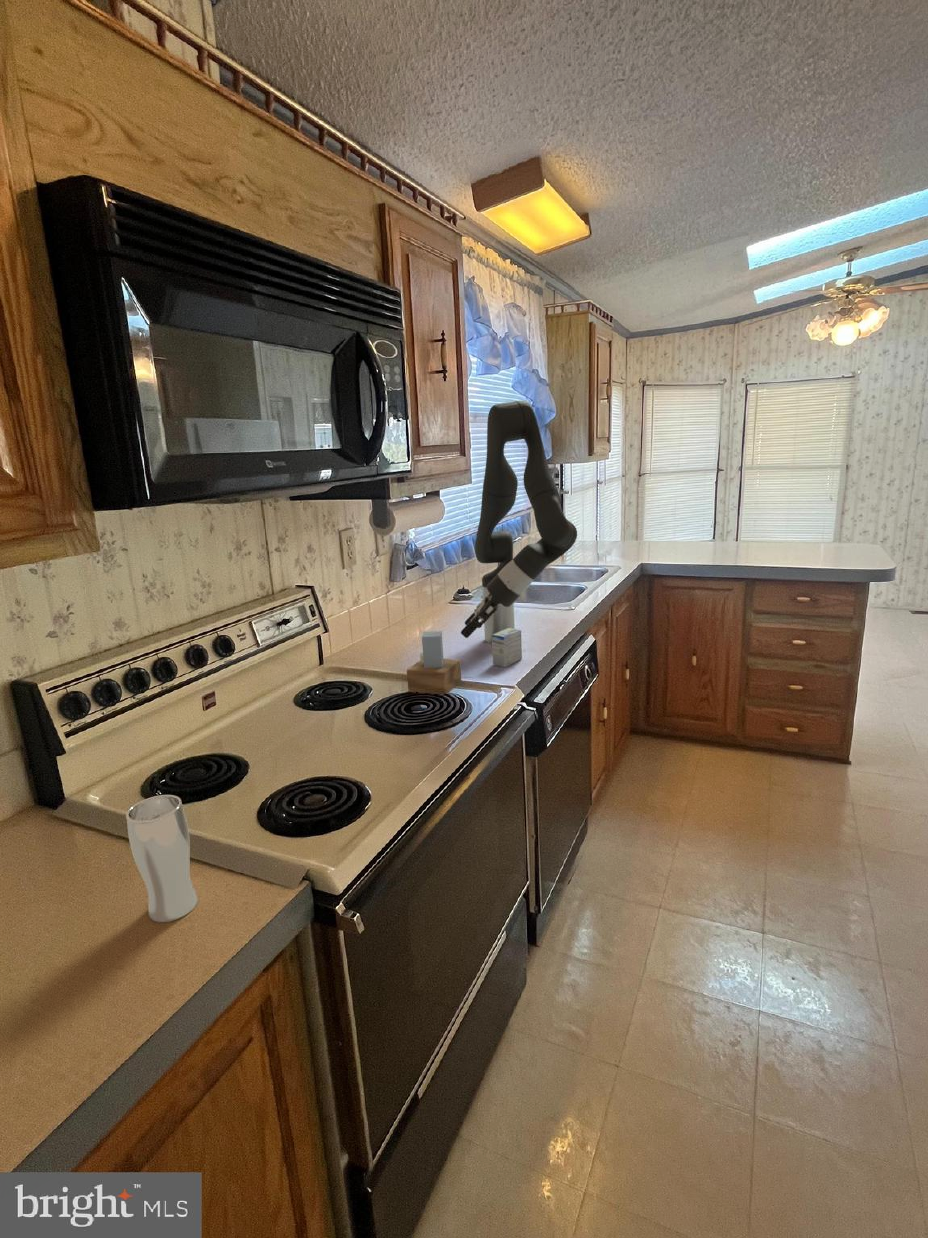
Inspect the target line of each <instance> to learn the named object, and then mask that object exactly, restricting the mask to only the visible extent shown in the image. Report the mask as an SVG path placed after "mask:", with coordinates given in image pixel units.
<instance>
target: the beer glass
mask: <svg viewBox="0 0 928 1238" xmlns="http://www.w3.org/2000/svg"><path fill="white" fill-rule="evenodd" d="M125 818H126V825H127V834H128V840H129V847H130V850H131V853H132V857H133V860H134V863H135V865H136V867H137V870H138V871H139V874H140V876H141V878H142V880H143V883H144V884H145V888H146V891H147V896H148V898H147V899H148V907H147V908H148V910H147V911H148V917H149V918H150V920H151V921H153V922H156V923H169V922H173V921H174V922H175V921H176V920H179V919H181V918H183V917H185V916H187V915H188V914H189V913H191V912H192V911H193V910H194V909H195V907H196V906H197V904H198V895H197V892H196V890H195V887H194V885H193V884H192V879H191V873H190V872H191V871H190V868H191V867H190V865H191V864H190V863H191V862H190V861H191V843H190V842H191V840H190V839H191V838H190V837H191V836H190V831H189V826H188V821H187V816H186V813H185V810H184V807H183V803H182V799H181V798H180V797H179V796H177V795H173V794H159V795H155V796H151V797H148V798H145V799H143V800H140V801H139V802H136V803H135V804H133V805H132V806H131V807H130V808H129V809H128V810H127V811H126V814H125Z"/></svg>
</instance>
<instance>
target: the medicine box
mask: <svg viewBox="0 0 928 1238" xmlns="http://www.w3.org/2000/svg"><path fill="white" fill-rule="evenodd" d="M491 645H492V648H491V649H492V663H493V664H492V665H494V666H498V667H502V668H507V667H509V666H511V665H513V664H514V663H517V662H519V661H520V660H522V659H523V651H522V630H521V629H517V628H515V629H513V628H507V629H505V630H502V631H500V632H498V633H495V634H493V635H492V643H491Z"/></svg>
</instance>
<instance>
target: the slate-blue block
mask: <svg viewBox="0 0 928 1238" xmlns="http://www.w3.org/2000/svg"><path fill="white" fill-rule="evenodd" d="M421 642H422V653H423V660H424V668H442V667H443V662H444V659H445V658H444V647H443V632H442V631H441V630H437V631H423V633H422V636H421Z"/></svg>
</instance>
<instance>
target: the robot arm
mask: <svg viewBox="0 0 928 1238" xmlns="http://www.w3.org/2000/svg"><path fill="white" fill-rule="evenodd" d="M486 427H487V428H486V429H487V430H486V434H487V435H486V442H487V443H486V461H485V470H484V476H483V477H484V478H483V483H482V485H483V486H482V492H481V493H482V494H481V505H480V506H481V508H480V516H479V521H478V525H477V526H478V527H477V532H476V537H475V545H474V555H475V558H476V560H477V561H478V562H479V563H480V564H497V563H499V565H498V566H497V567H496V568H495V569H493V570H492V571H490V572H488V573H486V574H484V575H483V576H482V578H481V583H482V584H481V585H482V590H481V591H482V600H481V601H480V602H479V603H478V604H477V605H476V608H475V609H474V612H472V614H470V616H469V617H467V619H465V621H464V624H465V627H463V629H462V630H461V631H460V634H461V635H462V636H463V637H464V638H465V639H468V638H469V637H470V636H471V635H472V634H473V633H474V632H475V631H476V630H477V629H480V628H482V627H483V628H484V630H483V631H484V641H485V642H486V643H489V644H492V635H493V634H495V633H498V632H500V631H502V630H505V629H507V628H513V629H516V628H515V626H516V625H515V606H514V604H515V602H516V600H518V598H520V596H522V594H523V593H524V592H525V591H526V590H527V589H528V588H529V587H530V586H531V584H532V583H533V582H534V580H535V579H536V578H537V577H538V576H539V575H540V574H541V573H542V572H543V571H544V570H545V569H546V568H547V567H548V566H549V565H550V564H552V563H554V562H555V561H557V560H558V559H559V558H560V557H562V556H563V555H564V554H566V553H567V552H568V551H569V550H570V549H571V548H572V547H573V546H574V544H575V543H576V541H577V539H578V538H577V537H578V529H577V528H576V525H575V524H573V522H571V521H569V520H568V519H567V518H566V515H565V514H564V512H563V509H562V498H561V495H560V492H559V490H558V487H557V486H556V485H557V484H556V483H555V480H554V478H553V475H552V472H551V471H550V467H549V464H548V459H547V455H546V451H545V445H544V443H543V442H544V441H543V438H542V435H541V431H540V427H539V423H538V419H537V416H536V413H535V410H534V408H533V405H532V404H531V403H530V402H529V401H528V400H515V401H508V402H501V403H495V404H494V405H492V406H491V408H490V409H489V411H488V416H487V426H486ZM520 440H524V441H525V443H526V446H527V451H528V452H527V457H526V458H527V460H526V463H525V466H524V467H525V468H524V471H523V488H524V491H525V493H526V496H527V498H528V501H529V503H530V505H531V507H532V509H533V516H534V519H535V525H536V528H537V531H538V533H539V536H540V537H541V538H540V539H539V540H538V541H537V542H535V543H530V544H527V545H525V546H524V547H523V548H522V549H521V550H520V551H519V552H518V553H517V554H516V555H515V556H514V542H513V540H514V539H513V536H512V534H511V533H510V531H508V530H497V531H495V529H496V527H497V526H498V524H499V523H500V522H501V521H502V520H503V519H504V518H505V517H506V516H507V515H508V513H509V512H511V510H512V509H513V507H514V505H515V502H516V499H517V493H518V492H517V491H518V485H519V482H518V477H517V474H516V473H515V471H514V469H513V467H512V466H511V465H510V463H509V462H508V460H507V459H506V456H505V446H506V444H507V443H509V442H514V441H520Z"/></svg>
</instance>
